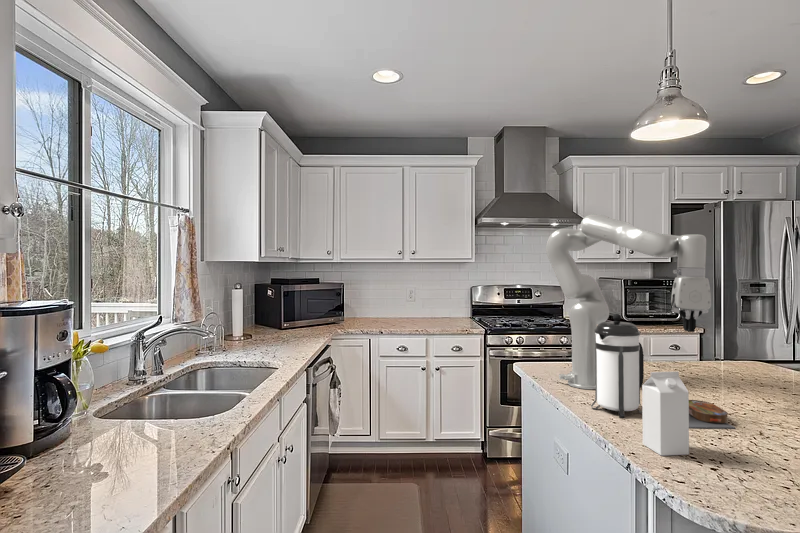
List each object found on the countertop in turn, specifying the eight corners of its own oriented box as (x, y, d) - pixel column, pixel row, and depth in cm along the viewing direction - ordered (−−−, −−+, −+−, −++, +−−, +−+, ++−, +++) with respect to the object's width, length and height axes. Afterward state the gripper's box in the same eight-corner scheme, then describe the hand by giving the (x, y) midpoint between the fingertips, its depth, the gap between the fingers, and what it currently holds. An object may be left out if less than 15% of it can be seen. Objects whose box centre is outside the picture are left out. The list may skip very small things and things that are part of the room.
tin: (733, 415, 127) (700, 411, 129) (732, 427, 127) (699, 423, 129) (708, 400, 142) (678, 397, 143) (707, 410, 142) (677, 407, 143)
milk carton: (642, 444, 115) (641, 369, 115) (669, 443, 116) (668, 368, 116) (660, 456, 108) (660, 375, 108) (689, 455, 108) (688, 375, 108)
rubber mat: (688, 428, 126) (688, 426, 126) (655, 408, 144) (655, 406, 144) (735, 428, 125) (735, 427, 125) (696, 408, 143) (696, 407, 143)
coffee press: (652, 421, 132) (652, 317, 132) (592, 415, 137) (591, 315, 137) (643, 404, 148) (642, 311, 148) (589, 399, 153) (589, 310, 153)
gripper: (672, 273, 142) (670, 332, 142) (723, 274, 141) (721, 333, 141) (660, 272, 149) (659, 328, 150) (708, 273, 148) (707, 330, 149)
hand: (689, 331), depth 145 cm, fingers closed
